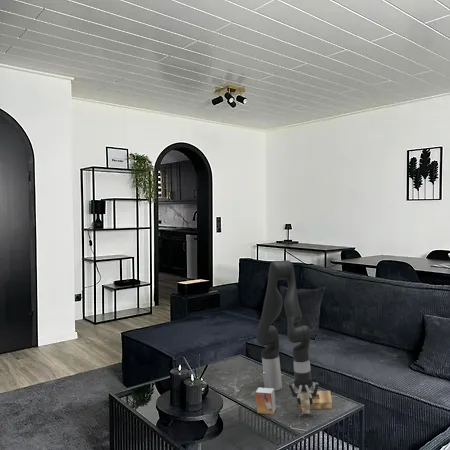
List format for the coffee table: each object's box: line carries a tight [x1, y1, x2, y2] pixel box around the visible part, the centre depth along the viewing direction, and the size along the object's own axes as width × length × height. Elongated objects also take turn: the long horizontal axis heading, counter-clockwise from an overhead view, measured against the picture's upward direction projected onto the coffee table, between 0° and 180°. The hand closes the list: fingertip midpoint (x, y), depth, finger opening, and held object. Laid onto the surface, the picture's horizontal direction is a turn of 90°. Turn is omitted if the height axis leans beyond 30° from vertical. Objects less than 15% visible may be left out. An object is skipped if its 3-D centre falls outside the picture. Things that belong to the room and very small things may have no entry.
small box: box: [255, 386, 277, 415], centre depth 207 cm, size 8×6×10 cm
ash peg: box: [300, 391, 311, 414], centre depth 199 cm, size 4×4×10 cm
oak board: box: [297, 390, 333, 410], centre depth 210 cm, size 16×12×3 cm
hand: (305, 404), depth 199 cm, fingers closed on ash peg, 4 cm apart
